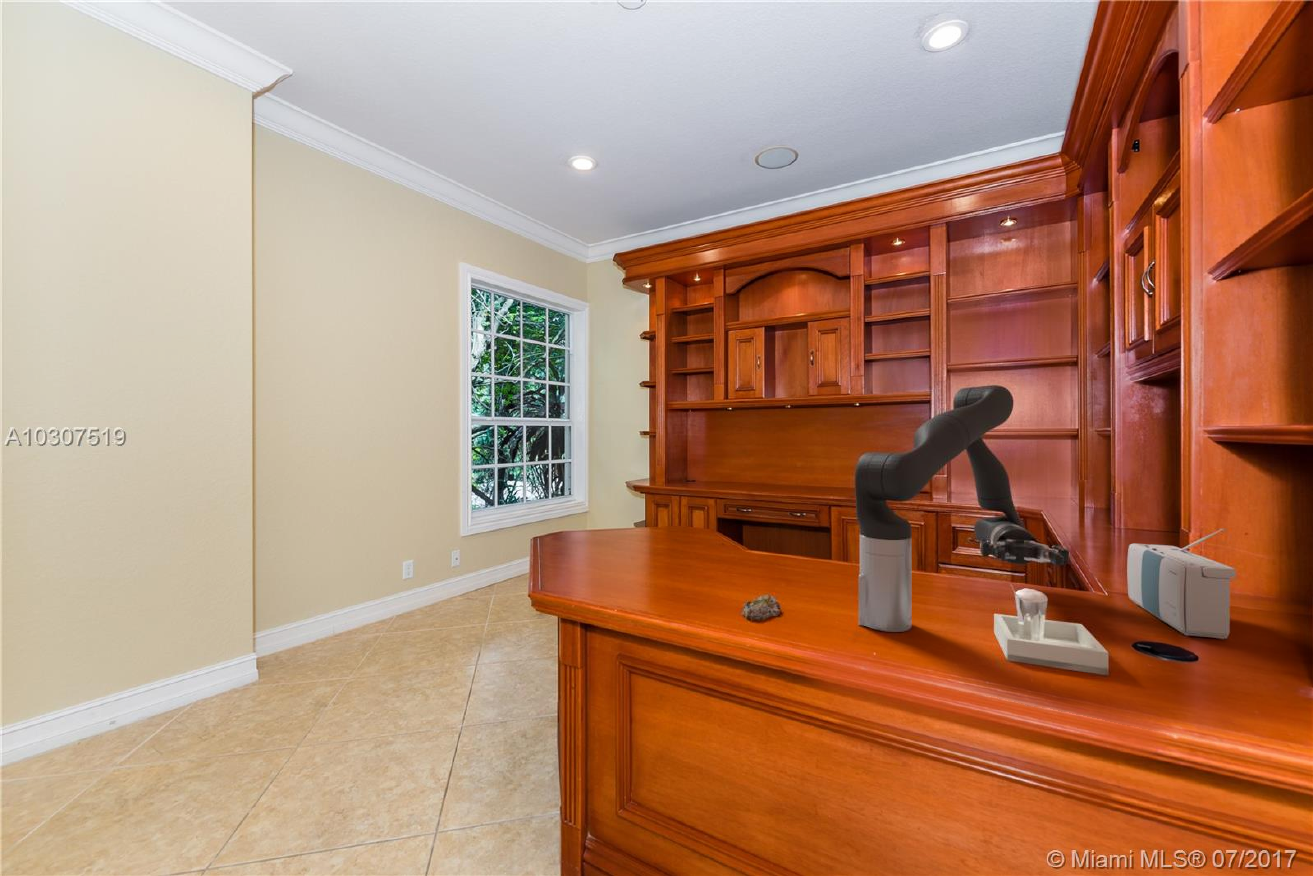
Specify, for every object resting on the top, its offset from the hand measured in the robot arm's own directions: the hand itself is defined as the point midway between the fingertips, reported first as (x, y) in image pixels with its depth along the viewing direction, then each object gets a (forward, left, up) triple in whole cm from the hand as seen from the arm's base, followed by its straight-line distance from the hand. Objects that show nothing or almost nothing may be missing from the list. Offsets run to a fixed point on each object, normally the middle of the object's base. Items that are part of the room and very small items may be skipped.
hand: (1030, 558), depth 99 cm
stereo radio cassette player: (+27, +17, -14) cm, 35 cm away
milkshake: (-2, -11, -13) cm, 17 cm away
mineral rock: (-49, -11, -14) cm, 52 cm away
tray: (0, -11, -13) cm, 17 cm away
